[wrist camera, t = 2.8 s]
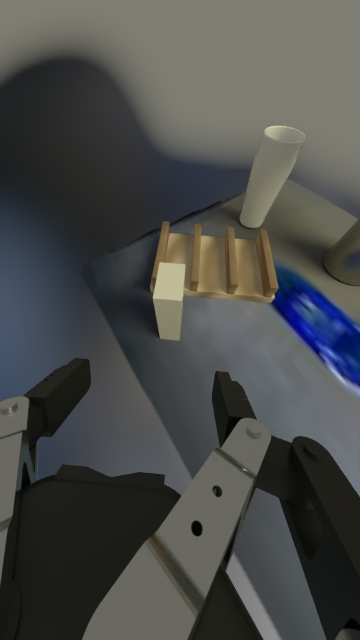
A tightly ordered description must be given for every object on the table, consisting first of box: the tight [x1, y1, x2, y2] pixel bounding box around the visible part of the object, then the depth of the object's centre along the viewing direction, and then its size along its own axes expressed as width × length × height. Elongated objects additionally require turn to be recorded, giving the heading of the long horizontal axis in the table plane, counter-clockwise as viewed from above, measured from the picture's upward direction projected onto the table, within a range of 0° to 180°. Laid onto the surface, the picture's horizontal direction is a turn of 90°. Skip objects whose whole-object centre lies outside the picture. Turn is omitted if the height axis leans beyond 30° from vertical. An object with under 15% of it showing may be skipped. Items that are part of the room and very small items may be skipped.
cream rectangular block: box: [153, 262, 186, 341], centre depth 25 cm, size 3×5×11 cm, turn 175°
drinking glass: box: [240, 126, 306, 228], centre depth 36 cm, size 7×7×15 cm
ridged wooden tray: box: [150, 221, 278, 303], centre depth 34 cm, size 21×14×4 cm, turn 85°
